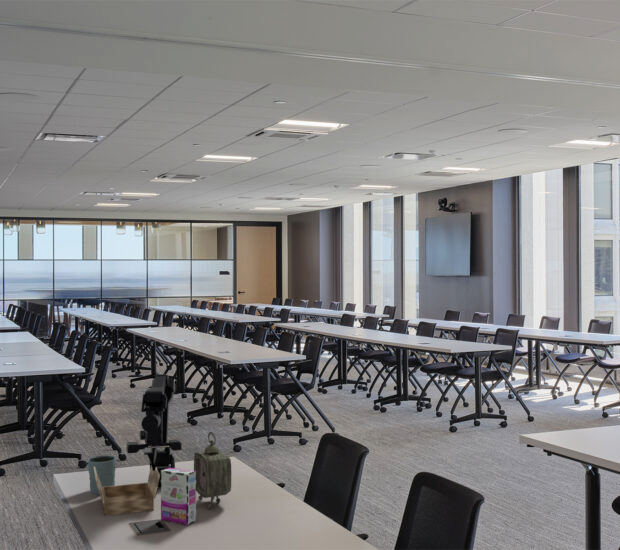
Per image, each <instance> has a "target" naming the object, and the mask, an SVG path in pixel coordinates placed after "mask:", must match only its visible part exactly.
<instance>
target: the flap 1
mask: <svg viewBox="0 0 620 550" xmlns="http://www.w3.org/2000/svg"><path fill="white" fill-rule="evenodd" d="M94 472H95V479H96V483H97V486H98V489H99V492H100V494H99V496H100V499H101V501H103V502H102V505H103V504H104V503H105V502H104V497H103V491H102V486H101V483H100V480H99V477H98V474H97V471H96V468H95V467H94Z"/></svg>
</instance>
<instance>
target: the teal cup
mask: <svg viewBox="0 0 620 550" xmlns="http://www.w3.org/2000/svg"><path fill="white" fill-rule="evenodd" d="M116 462H117V458H116V456H114V455H97V456H93V457H90V458H88V459H87V469H88V474H89V489H90V493H91V494H93V495H100V492H99V489H98V486H97V483H96V479H95V472H94V467H95V468H96V471H97V474H98V477H99V480H100V483H101V486H102V487H106V486H116V484H115V483H116V481H115V478H116V465H117V463H116Z"/></svg>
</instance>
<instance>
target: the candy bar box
mask: <svg viewBox="0 0 620 550" xmlns="http://www.w3.org/2000/svg"><path fill="white" fill-rule="evenodd" d="M160 520H161V521H163V522H168V523H174V524H179V525H185V526H189V525H192V524H194V523H196V522H197V491H196V471H194V470H190V469H184V468H183V469H182V468H177V467H175V468H167V469H164V470H162V471H161V487H160Z"/></svg>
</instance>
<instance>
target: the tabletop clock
mask: <svg viewBox="0 0 620 550" xmlns="http://www.w3.org/2000/svg"><path fill="white" fill-rule="evenodd" d="M207 435H208V436H207V438H208V443H209V445H207V446H206V447H205V448H204V451H198V452H197V451H196V452H194V456H193V458H194V459H193V471H196V493H197V494H198V495H199V496H198V497H197V499H198V500H199V501H203V498H204V499H207V498H210V502H209V504H208V509H209V510H212V509H213V507H214V505H213V501H214V499H215V502H216V503H217V504H219V503H221V498H219V497H221V496H226V495H227V494H229V493H230V492H231V491H232V462H231V458H230V456H228V455H227V454H226V453H223V452H222V451H220V450H219V447H218V446H217V445H215V444H216V442H217V439H216V434H215V433H214V432H213V431H209V432H208V434H207ZM210 435H212V437H213V439H210Z"/></svg>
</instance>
